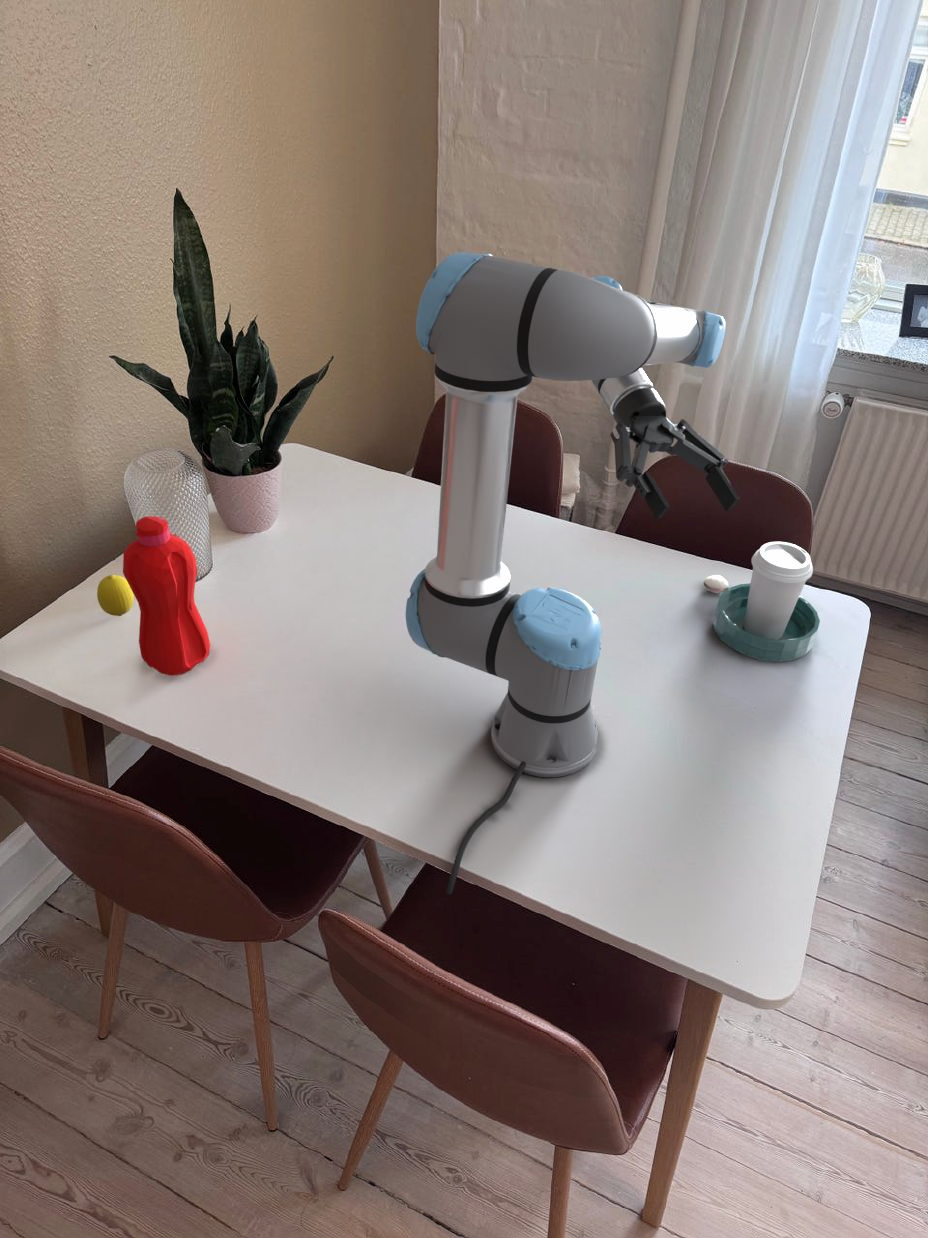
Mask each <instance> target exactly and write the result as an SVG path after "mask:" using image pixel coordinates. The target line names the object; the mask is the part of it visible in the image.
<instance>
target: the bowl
mask: <svg viewBox="0 0 928 1238" xmlns="http://www.w3.org/2000/svg"><path fill="white" fill-rule="evenodd" d="M750 584H751V582H750V583H740V584H737V585H734V586H731V587H728V589H727V590H726V591H725V592H723V593H720V595H719V599H718V600H717V603H716V607H715V611H714V614H713V619H712V624H713V628H714V631H715V634H717V636H718V637H719V639H720V640H721V641H722V642H724V643H725V644H726V645H727V646H729V647H730V648H731V649H732V650H735V651H737V652H738V653H741V654H743V655H745V656H747V657H750V658H754V659H758V660H761V661H769V662H787V661H794V660H796V659H799V658H802V657H804V656H806V655H807V654H808V653H809V652H810V650H812V648H813V646H814V643H815V640H816V638H817V634H818V631H819V628H820V622H821V620H820V617H819V615H818V611H817V610H816V609H815V608H814V607H813V605H812V604H811V603H810V602H809V601H808V600H806V599H805V598H803V597H802V596H801V595H800V596H799V598H798V601H797V603H796V605H795V607H794V610H793V612H792V614H791V617H790V619H789V621H788V624H787V626H786V628H785V631H784V633H783V635H782V637H781V638H780V639H778V640H775V639H767V638H763V637H760V636H756V635H753V634H751V633H748V632H746V631H745V629H744V620H745V614H746V608H747V602H748V596H749V590H750Z"/></svg>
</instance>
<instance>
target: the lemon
mask: <svg viewBox="0 0 928 1238" xmlns="http://www.w3.org/2000/svg"><path fill="white" fill-rule="evenodd" d="M96 591H97V592H96V598H97V602H98V604H99V607H100V609H102V610H103V611H104V612H105V613H106V614H108V615H109V616H110V615H111V616H115V617H116V616H118V617H121V616H123V615H125V614H127V613H128V612H129V611H130V610H131V609H132V607H133V605H134V600H135V595H134V594H133V592H132V590H131V588H130V586H129V584H128V582H127V580H126V578H125V577H124V576H122V575H118V574H109V575H107V576H105V577H103V578H102V579H101V580H100V581H99V583H98V585H97V590H96Z"/></svg>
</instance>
